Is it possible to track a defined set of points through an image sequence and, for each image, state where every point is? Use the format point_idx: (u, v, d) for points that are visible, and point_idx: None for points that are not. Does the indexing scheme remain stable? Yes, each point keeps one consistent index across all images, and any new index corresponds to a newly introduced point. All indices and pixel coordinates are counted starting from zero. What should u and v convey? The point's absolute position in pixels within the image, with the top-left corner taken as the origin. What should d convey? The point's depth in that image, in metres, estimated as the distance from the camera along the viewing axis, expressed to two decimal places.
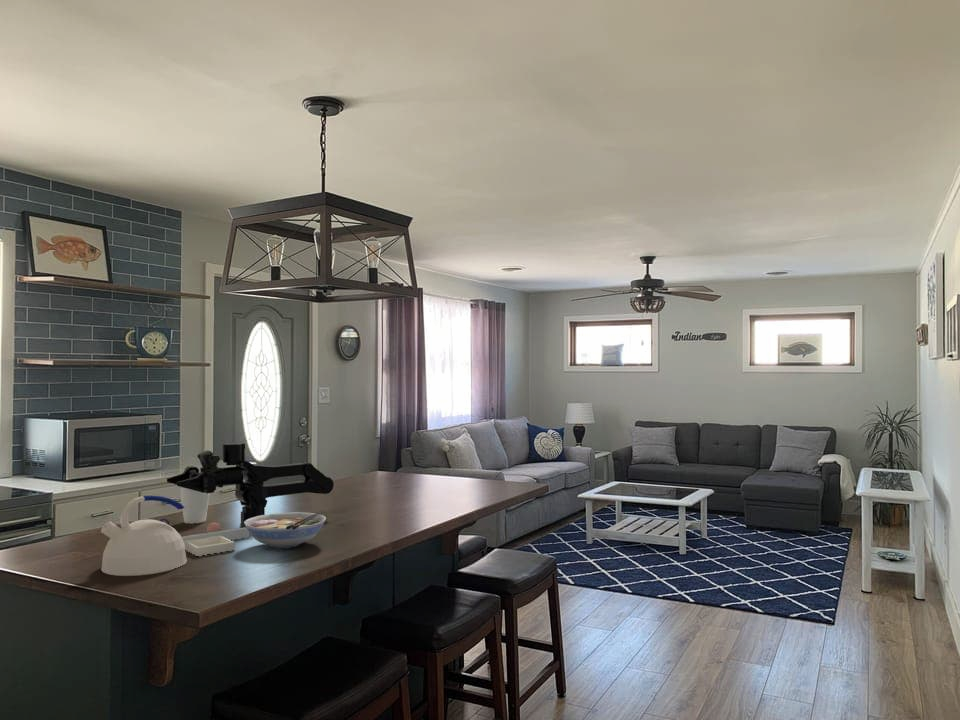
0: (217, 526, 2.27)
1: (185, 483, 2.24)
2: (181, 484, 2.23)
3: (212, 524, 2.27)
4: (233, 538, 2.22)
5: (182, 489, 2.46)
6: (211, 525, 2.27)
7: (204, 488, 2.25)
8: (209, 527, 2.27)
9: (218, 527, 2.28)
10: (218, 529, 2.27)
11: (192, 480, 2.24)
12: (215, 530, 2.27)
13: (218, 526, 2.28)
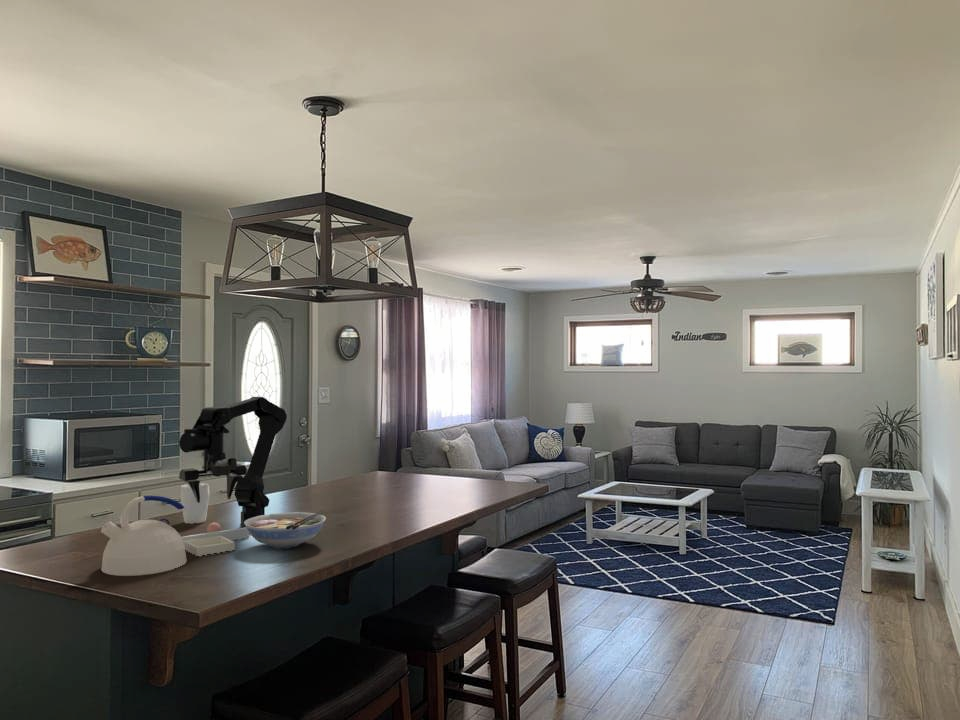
0: (217, 526, 2.27)
1: None
2: None
3: (212, 524, 2.27)
4: (233, 538, 2.22)
5: (182, 489, 2.46)
6: (211, 525, 2.27)
7: None
8: (209, 527, 2.27)
9: (218, 527, 2.28)
10: (218, 529, 2.27)
11: None
12: (215, 530, 2.27)
13: (218, 526, 2.28)
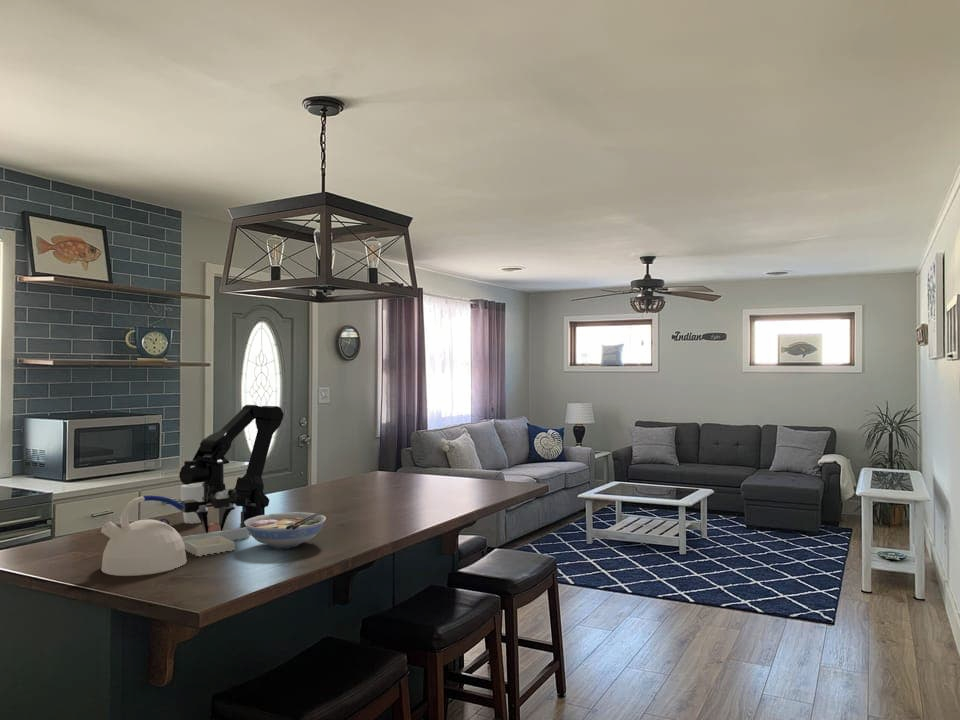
0: (217, 526, 2.27)
1: None
2: None
3: (212, 524, 2.27)
4: (233, 538, 2.22)
5: (182, 489, 2.46)
6: (211, 525, 2.27)
7: None
8: (209, 527, 2.27)
9: (218, 527, 2.28)
10: (218, 529, 2.27)
11: None
12: (215, 530, 2.27)
13: (218, 526, 2.28)
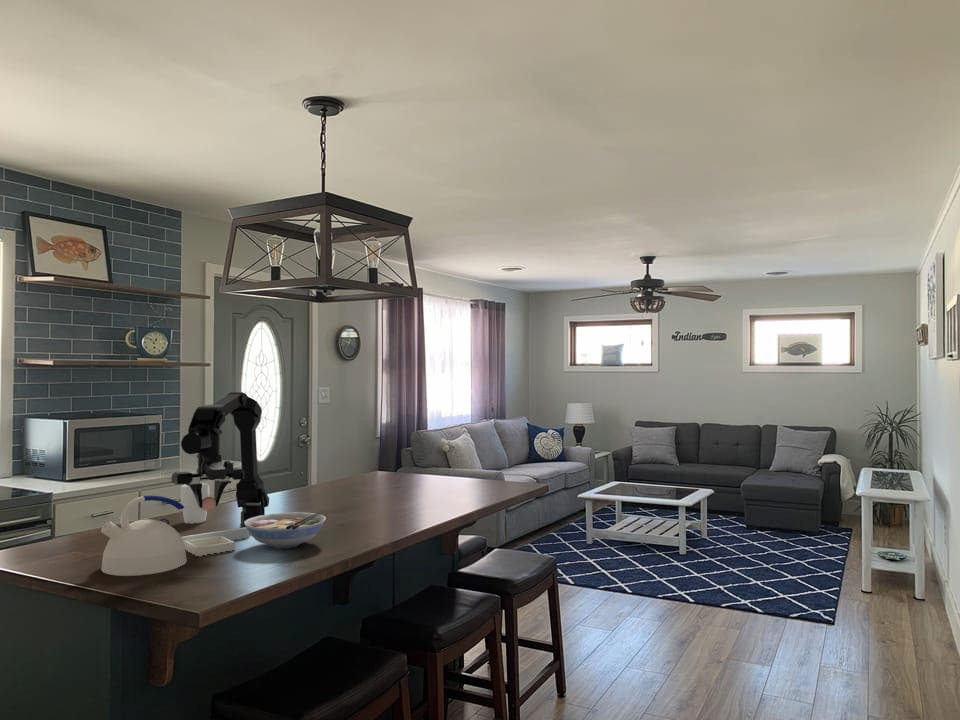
0: (211, 500, 2.11)
1: None
2: None
3: (207, 498, 2.11)
4: (233, 538, 2.22)
5: (182, 489, 2.46)
6: (205, 499, 2.11)
7: None
8: (203, 501, 2.11)
9: (213, 501, 2.12)
10: (213, 504, 2.11)
11: None
12: (210, 504, 2.11)
13: (213, 500, 2.12)
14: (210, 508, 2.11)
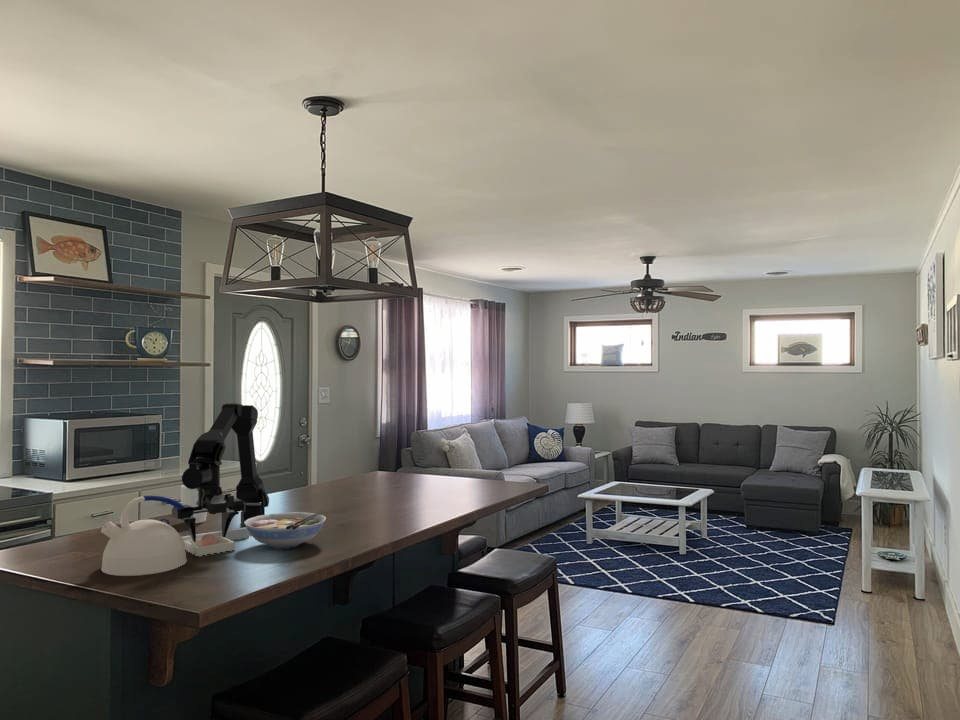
0: (211, 538, 2.09)
1: None
2: None
3: (206, 536, 2.09)
4: (233, 538, 2.22)
5: (182, 489, 2.46)
6: (205, 537, 2.09)
7: None
8: (203, 539, 2.09)
9: (213, 538, 2.10)
10: (213, 540, 2.09)
11: None
12: (210, 542, 2.09)
13: (213, 537, 2.10)
14: None
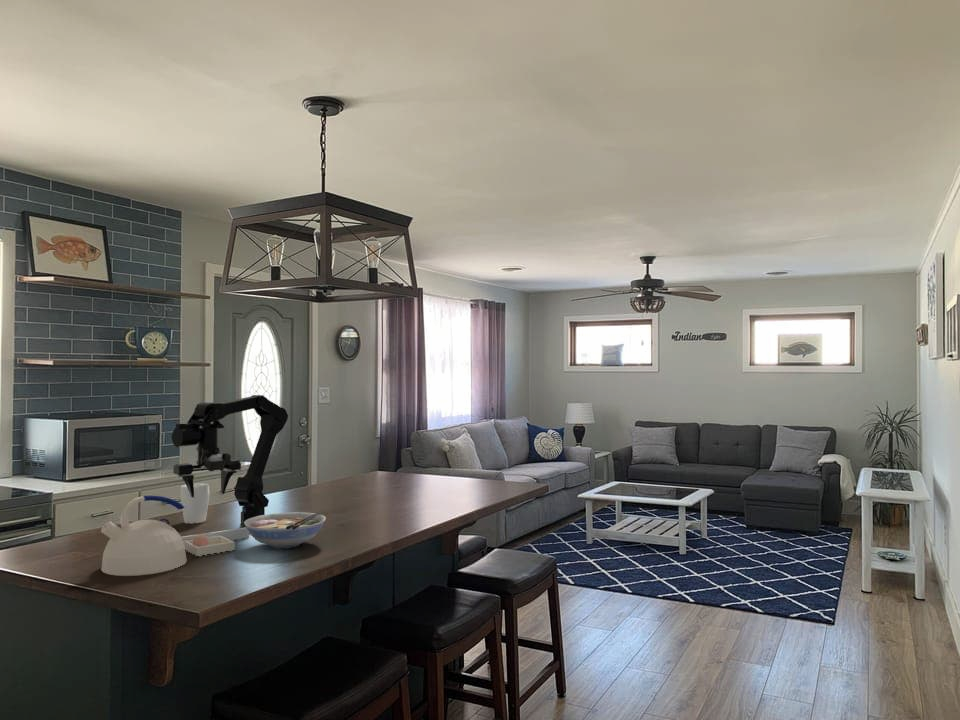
0: (199, 541, 2.07)
1: None
2: None
3: (195, 543, 2.07)
4: (233, 538, 2.22)
5: (182, 489, 2.46)
6: None
7: None
8: None
9: (201, 539, 2.07)
10: (203, 540, 2.08)
11: None
12: (203, 544, 2.07)
13: (200, 539, 2.07)
14: (206, 543, 2.08)
